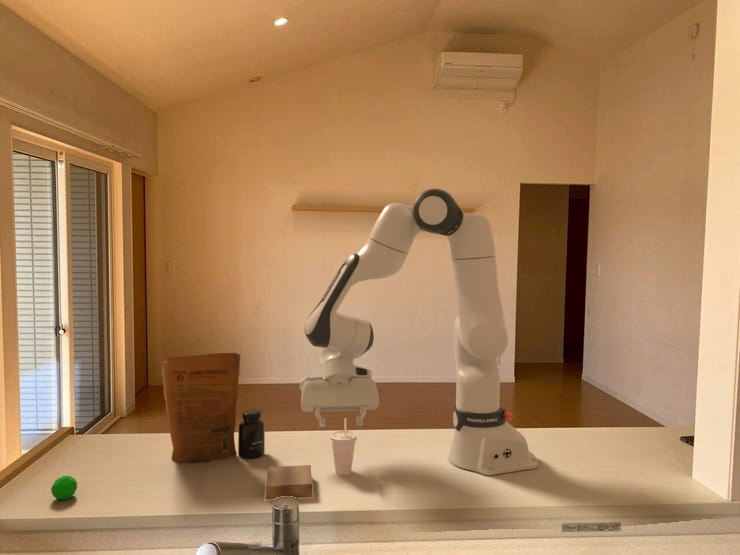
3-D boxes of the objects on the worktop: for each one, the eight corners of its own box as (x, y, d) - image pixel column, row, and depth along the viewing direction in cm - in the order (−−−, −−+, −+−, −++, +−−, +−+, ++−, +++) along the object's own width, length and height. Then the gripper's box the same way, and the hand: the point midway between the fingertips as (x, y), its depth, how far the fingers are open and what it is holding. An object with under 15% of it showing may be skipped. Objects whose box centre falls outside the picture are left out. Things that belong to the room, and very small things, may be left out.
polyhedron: (47, 503, 120) (46, 482, 120) (59, 493, 125) (58, 472, 125) (70, 503, 120) (69, 482, 120) (81, 493, 125) (81, 472, 125)
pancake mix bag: (241, 462, 142) (239, 354, 140) (162, 467, 139) (160, 356, 137) (242, 452, 149) (241, 349, 147) (168, 456, 146) (165, 351, 144)
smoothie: (346, 481, 132) (347, 424, 130) (324, 475, 135) (324, 419, 134) (361, 472, 137) (361, 416, 136) (340, 466, 140) (340, 412, 139)
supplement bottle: (258, 462, 143) (258, 416, 142) (233, 459, 144) (233, 414, 143) (268, 451, 149) (268, 408, 148) (245, 449, 151) (244, 406, 150)
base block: (310, 477, 133) (310, 465, 133) (312, 496, 123) (312, 483, 123) (268, 479, 132) (268, 467, 131) (266, 499, 122) (265, 486, 121)
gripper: (299, 371, 145) (299, 420, 137) (377, 370, 148) (382, 418, 139) (299, 383, 150) (299, 432, 141) (374, 382, 153) (379, 429, 144)
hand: (341, 425), depth 140 cm, fingers open, 8 cm apart
